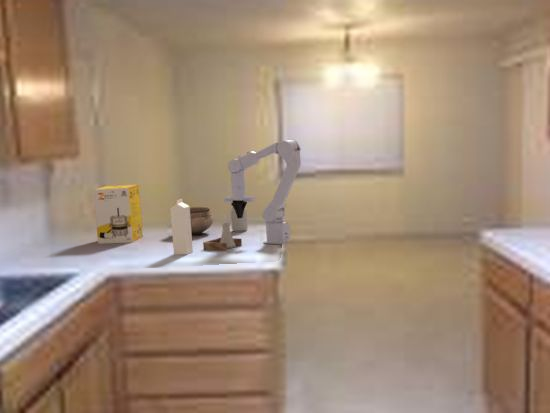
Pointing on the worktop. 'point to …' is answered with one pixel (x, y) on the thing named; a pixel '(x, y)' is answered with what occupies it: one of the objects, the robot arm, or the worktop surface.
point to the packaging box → (118, 214)
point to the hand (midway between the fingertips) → (240, 218)
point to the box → (219, 244)
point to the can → (239, 221)
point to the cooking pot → (200, 219)
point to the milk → (181, 228)
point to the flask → (227, 236)
